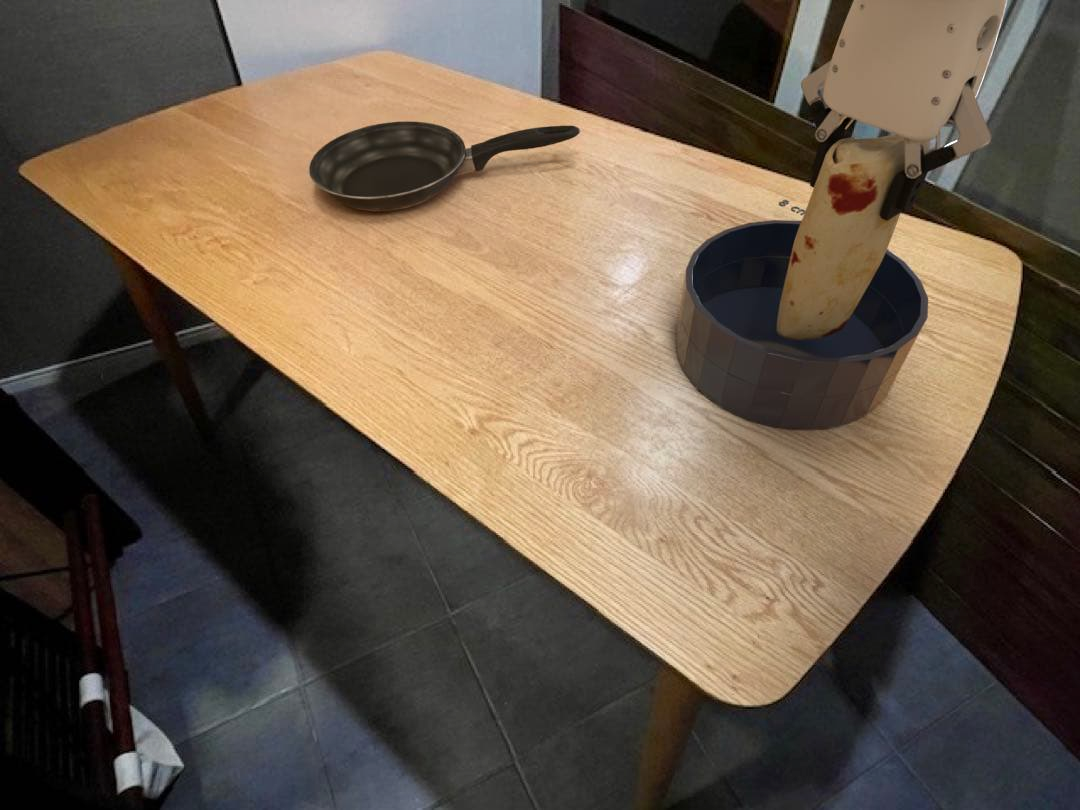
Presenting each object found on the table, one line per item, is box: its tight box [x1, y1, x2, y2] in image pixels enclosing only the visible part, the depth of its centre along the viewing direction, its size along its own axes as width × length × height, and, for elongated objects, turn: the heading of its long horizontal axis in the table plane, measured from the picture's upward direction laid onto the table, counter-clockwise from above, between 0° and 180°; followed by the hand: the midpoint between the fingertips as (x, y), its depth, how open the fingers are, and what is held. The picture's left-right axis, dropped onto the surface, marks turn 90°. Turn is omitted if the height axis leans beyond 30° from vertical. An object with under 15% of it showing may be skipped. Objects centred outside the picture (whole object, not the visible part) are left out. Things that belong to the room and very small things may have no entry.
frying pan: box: [308, 120, 581, 212], centre depth 104 cm, size 44×25×7 cm, turn 94°
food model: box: [777, 134, 905, 340], centre depth 59 cm, size 10×7×20 cm
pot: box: [675, 219, 929, 431], centre depth 72 cm, size 24×24×10 cm
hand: (857, 196), depth 56 cm, fingers closed on food model, 6 cm apart
